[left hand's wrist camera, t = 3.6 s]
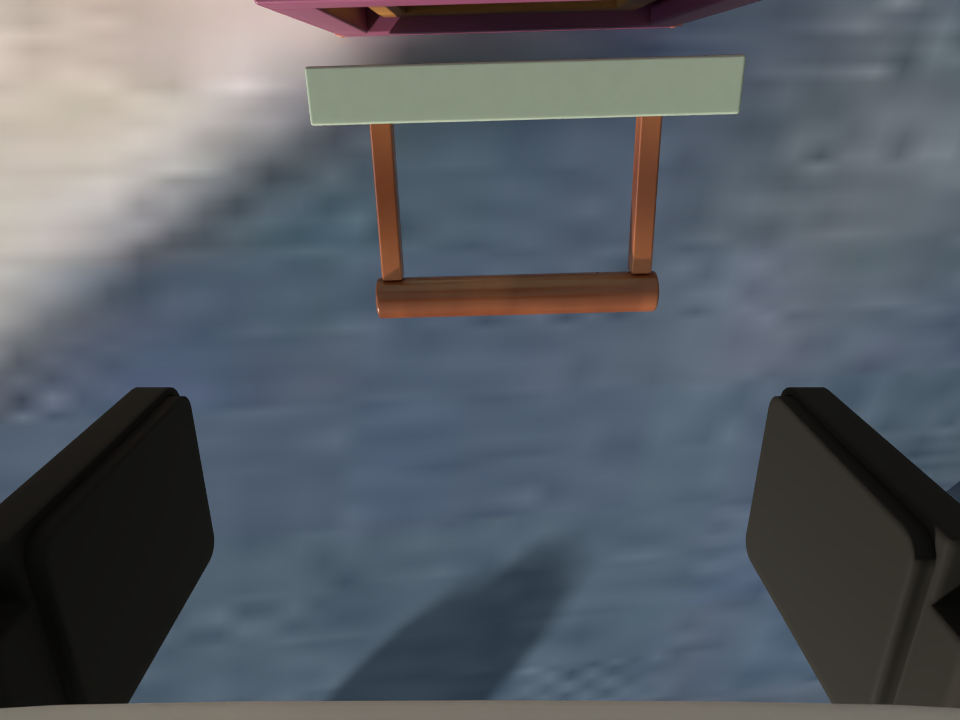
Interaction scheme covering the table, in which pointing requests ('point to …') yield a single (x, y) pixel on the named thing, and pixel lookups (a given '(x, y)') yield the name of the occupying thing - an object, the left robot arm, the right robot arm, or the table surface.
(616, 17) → the cabinet
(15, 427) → the table surface
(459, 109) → the drawer
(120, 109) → the table surface
